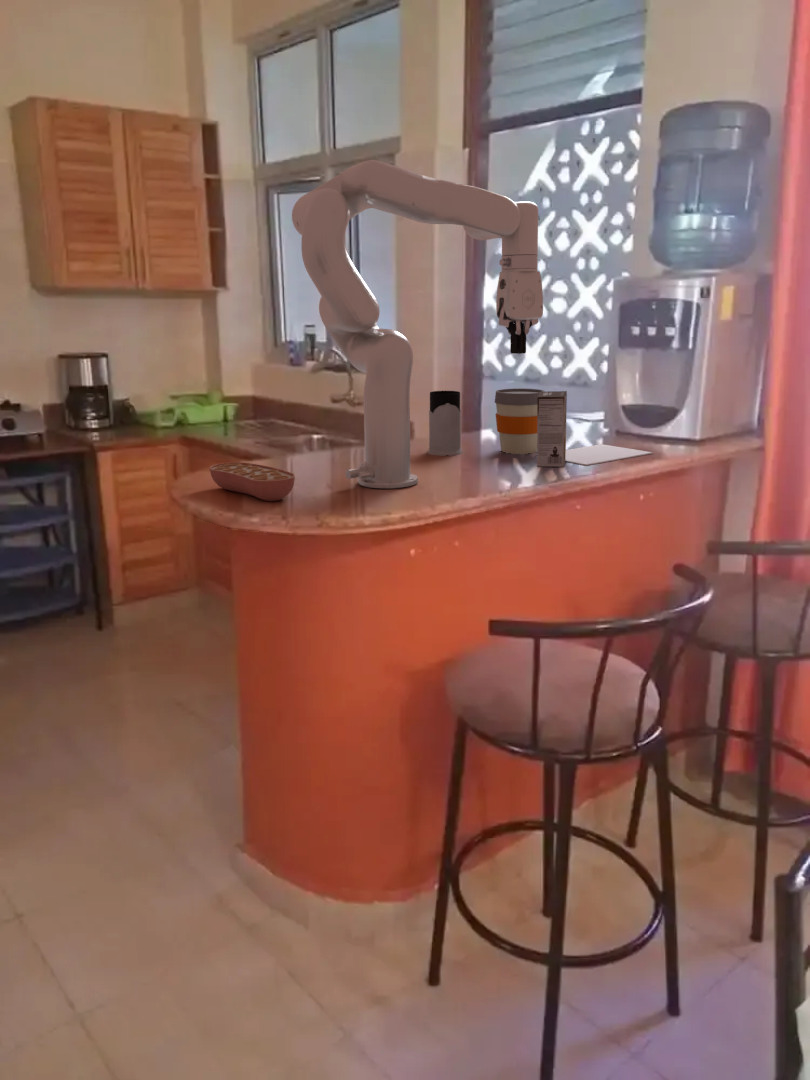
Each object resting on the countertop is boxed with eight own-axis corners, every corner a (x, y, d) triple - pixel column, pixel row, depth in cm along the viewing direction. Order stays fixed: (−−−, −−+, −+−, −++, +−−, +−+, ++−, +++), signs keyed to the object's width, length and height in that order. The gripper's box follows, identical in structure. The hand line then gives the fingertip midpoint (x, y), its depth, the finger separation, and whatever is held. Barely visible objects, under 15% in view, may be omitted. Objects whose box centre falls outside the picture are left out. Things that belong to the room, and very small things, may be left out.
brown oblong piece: (203, 490, 181) (201, 466, 179) (243, 483, 187) (242, 460, 186) (266, 508, 165) (264, 482, 163) (308, 500, 171) (307, 475, 170)
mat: (586, 465, 200) (586, 464, 200) (536, 456, 212) (536, 455, 212) (652, 453, 214) (652, 452, 214) (601, 445, 226) (601, 444, 226)
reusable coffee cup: (539, 456, 212) (541, 394, 208) (488, 454, 216) (489, 393, 212) (547, 448, 223) (549, 388, 219) (499, 445, 227) (501, 387, 223)
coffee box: (538, 458, 208) (539, 391, 203) (566, 458, 207) (567, 390, 202) (536, 466, 199) (536, 396, 195) (564, 467, 198) (566, 396, 194)
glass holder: (430, 456, 214) (430, 394, 210) (422, 446, 228) (421, 388, 224) (465, 454, 215) (465, 393, 211) (454, 445, 229) (455, 387, 225)
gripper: (505, 264, 177) (504, 356, 182) (557, 264, 186) (554, 352, 191) (481, 265, 183) (480, 354, 188) (531, 265, 192) (530, 350, 197)
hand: (518, 353), depth 189 cm, fingers closed
